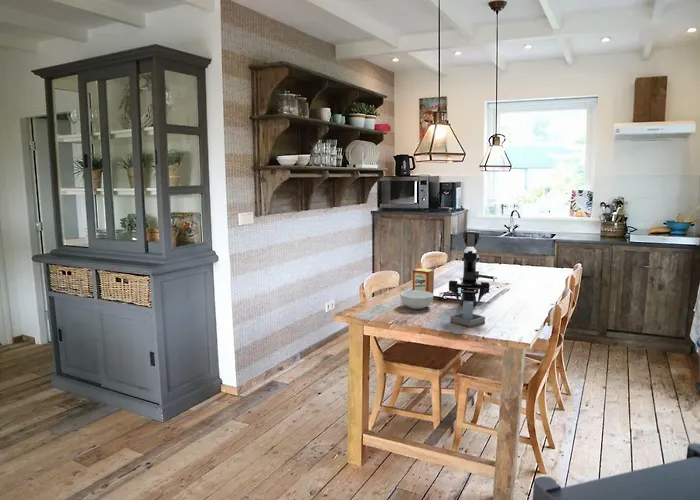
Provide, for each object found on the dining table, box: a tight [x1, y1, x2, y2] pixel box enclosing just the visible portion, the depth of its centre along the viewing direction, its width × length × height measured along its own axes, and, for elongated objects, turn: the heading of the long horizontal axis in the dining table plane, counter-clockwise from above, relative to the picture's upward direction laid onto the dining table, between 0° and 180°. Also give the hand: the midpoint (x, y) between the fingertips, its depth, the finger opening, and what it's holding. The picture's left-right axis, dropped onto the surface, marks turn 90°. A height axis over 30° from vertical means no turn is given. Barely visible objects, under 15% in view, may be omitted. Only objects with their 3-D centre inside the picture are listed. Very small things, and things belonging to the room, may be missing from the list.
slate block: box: [462, 301, 474, 321], centre depth 245 cm, size 4×4×9 cm
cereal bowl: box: [400, 289, 434, 310], centre depth 273 cm, size 17×17×7 cm
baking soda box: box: [412, 267, 435, 295], centre depth 291 cm, size 10×6×16 cm
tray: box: [449, 312, 486, 328], centre depth 246 cm, size 11×11×3 cm
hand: (468, 302), depth 245 cm, fingers open, 9 cm apart
